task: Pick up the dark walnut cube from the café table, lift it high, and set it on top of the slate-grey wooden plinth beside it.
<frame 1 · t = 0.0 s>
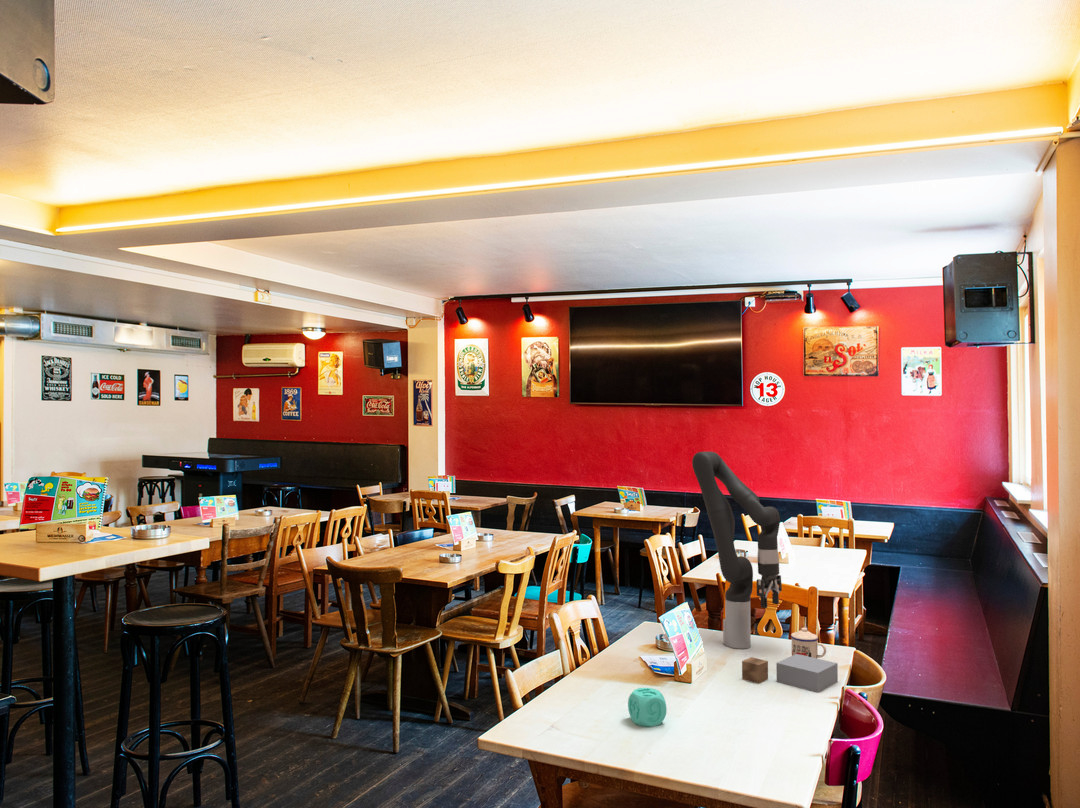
hand: (770, 605, 271), 17 cm above the table, tool pointing down, fingers open, 8 cm apart
slate plinth: (807, 681, 240), on the table
decorative dice: (647, 722, 206), on the table
teacup with lid: (808, 662, 260), on the table
walnut cube: (755, 679, 242), on the table
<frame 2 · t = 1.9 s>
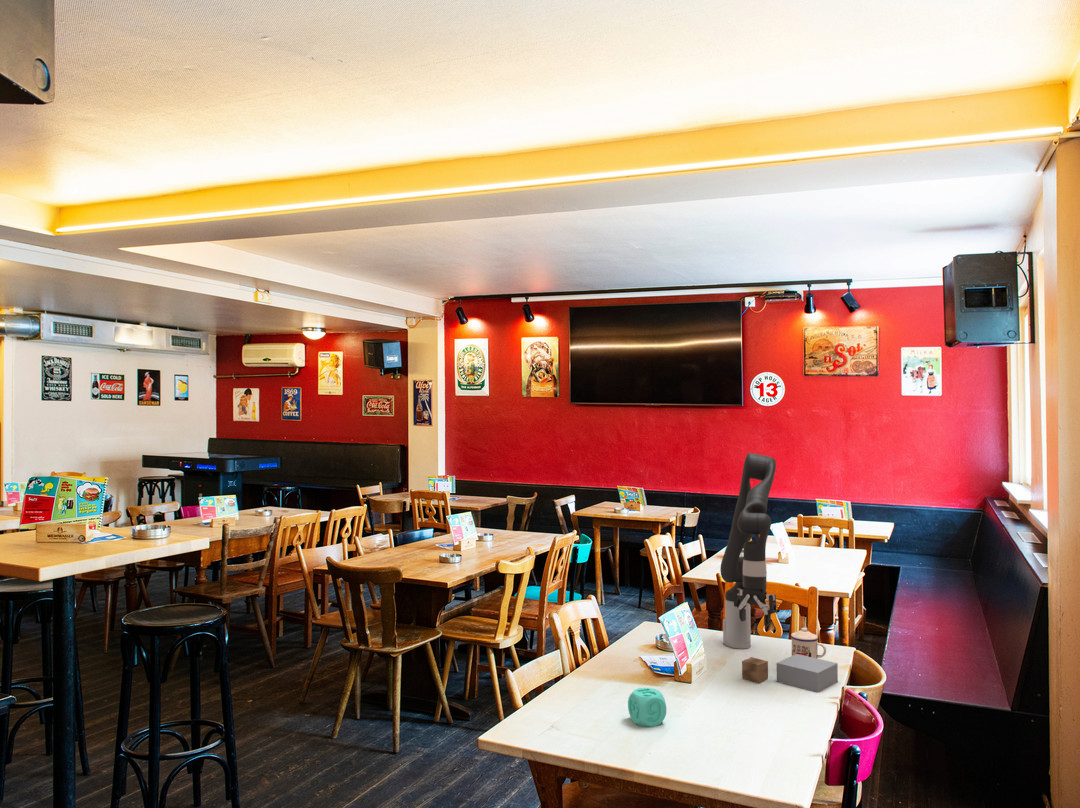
hand: (754, 623, 243), 18 cm above the table, tool pointing down, fingers open, 8 cm apart
nothing on the table moved.
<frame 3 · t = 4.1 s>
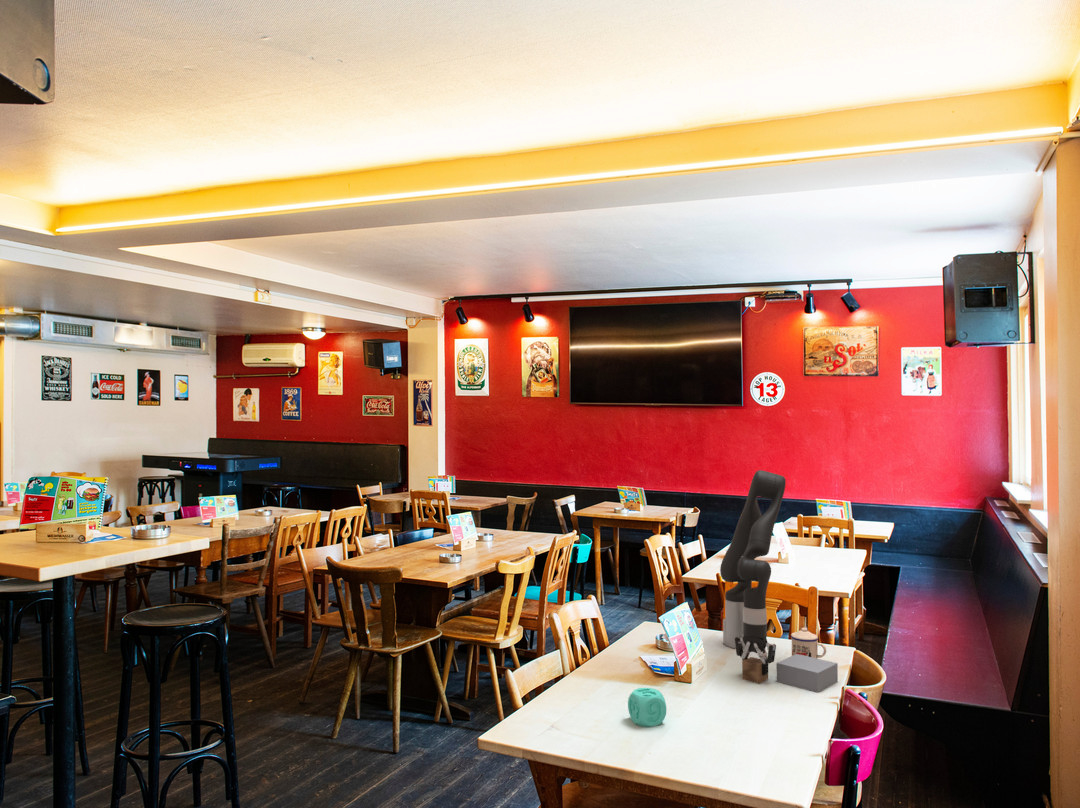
hand: (755, 672, 242), 2 cm above the table, tool pointing down, fingers closed on walnut cube, 6 cm apart
walnut cube: (755, 679, 242), on the table, touching gripper
everything else where it was.
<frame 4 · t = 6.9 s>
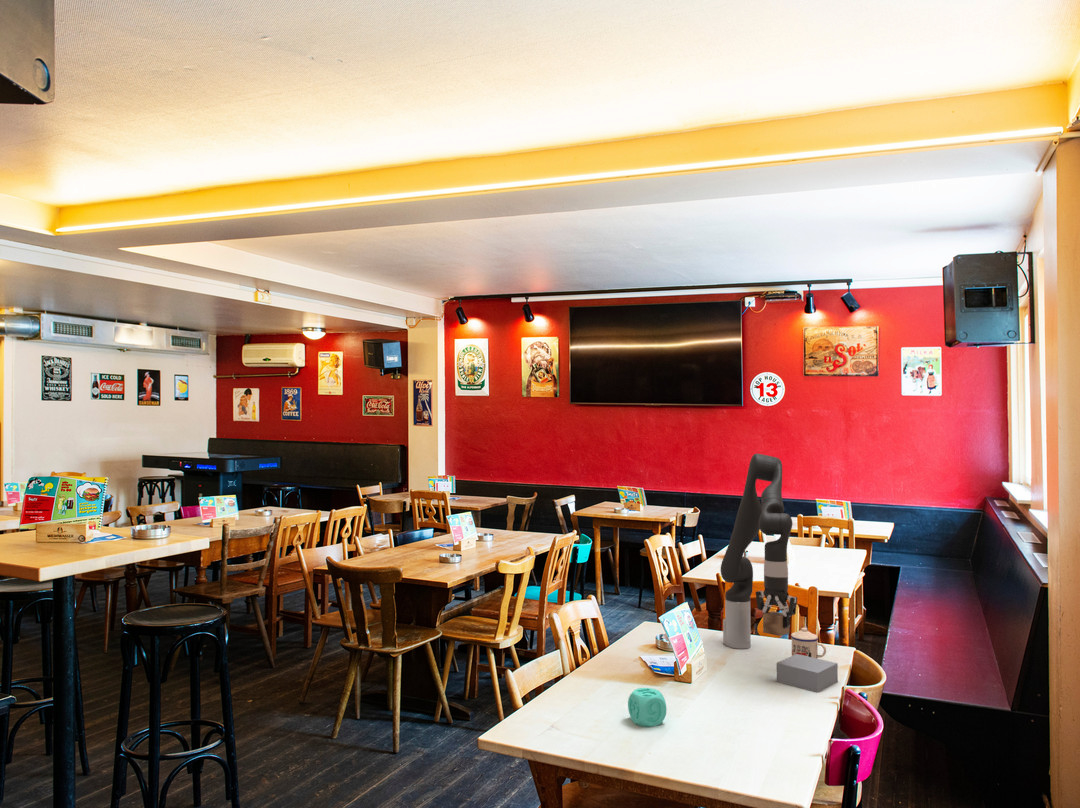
hand: (776, 625, 241), 18 cm above the table, tool pointing down, fingers closed on walnut cube, 6 cm apart
walnut cube: (776, 632, 241), point 15 cm above the table, touching gripper
everything else where it was.
when the fingers open (10 cm above the table, at t = 9.9 s): walnut cube drops 1 cm, resting on slate plinth.
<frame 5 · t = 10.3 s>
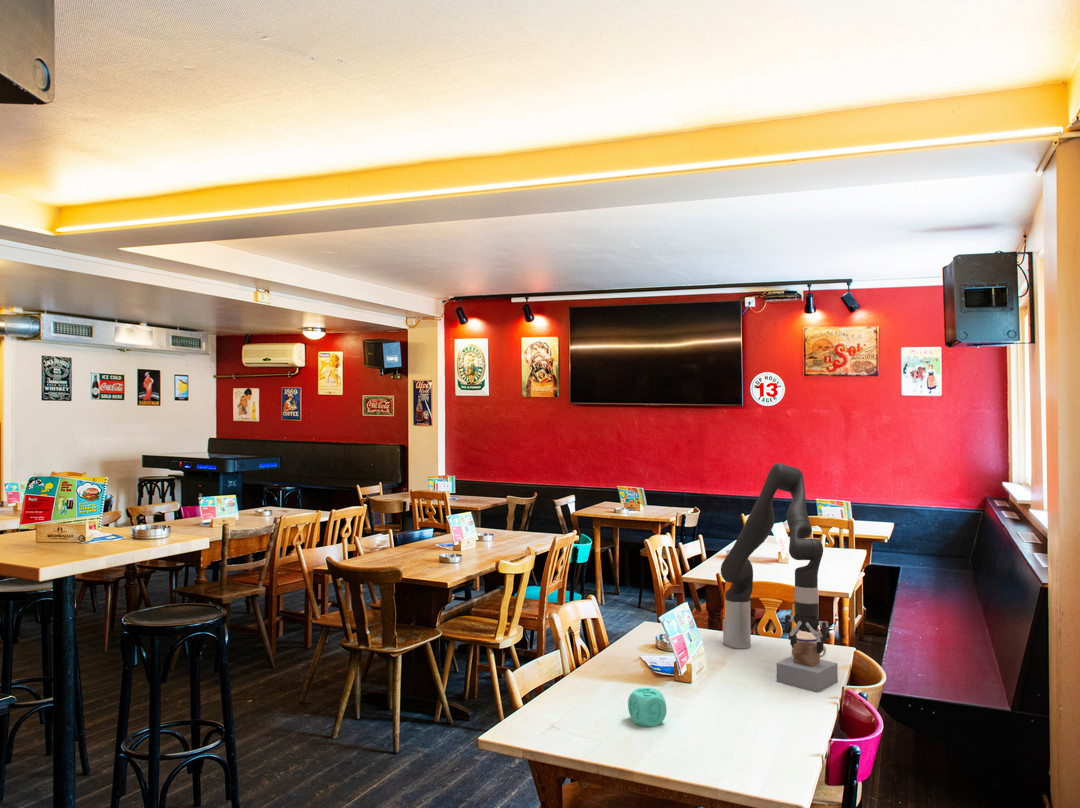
hand: (806, 650, 240), 10 cm above the table, tool pointing down, fingers open, 8 cm apart
walnut cube: (806, 663, 240), point 6 cm above the table, touching slate plinth
everything else where it was.
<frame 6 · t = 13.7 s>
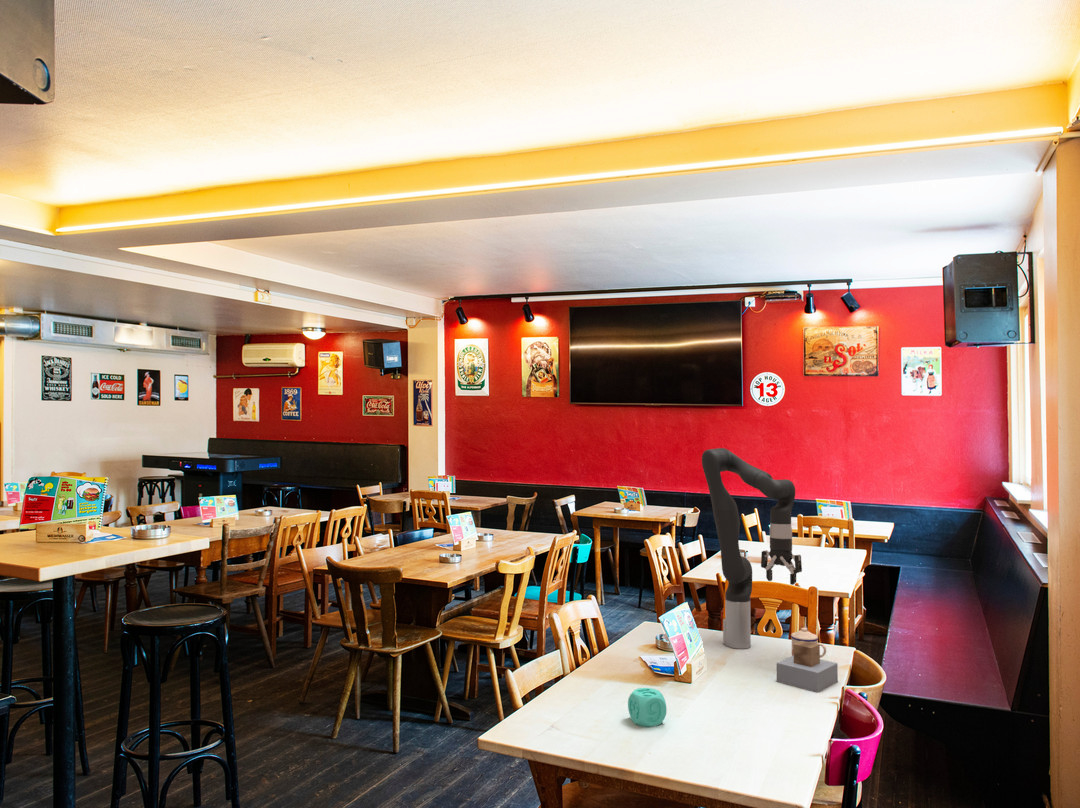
hand: (781, 582, 260), 28 cm above the table, tool pointing down, fingers open, 8 cm apart
nothing on the table moved.
at the end: walnut cube inside the target area on the slate plinth (0.0 cm from its centre), point 6.0 cm above the slate plinth's base; walnut cube tilted 0°; the gripper is holding nothing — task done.
